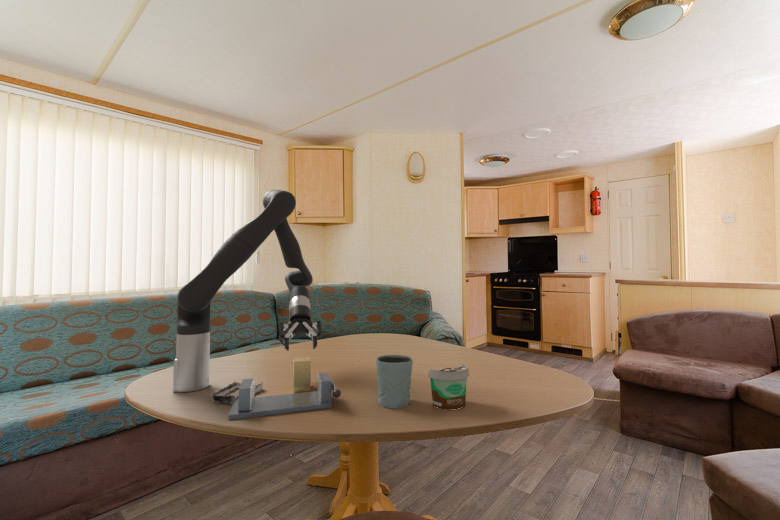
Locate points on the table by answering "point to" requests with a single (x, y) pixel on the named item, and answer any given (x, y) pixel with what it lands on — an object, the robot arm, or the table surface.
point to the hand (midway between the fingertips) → (301, 348)
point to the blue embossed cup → (394, 380)
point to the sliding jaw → (246, 395)
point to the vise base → (291, 401)
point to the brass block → (301, 374)
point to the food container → (449, 387)
